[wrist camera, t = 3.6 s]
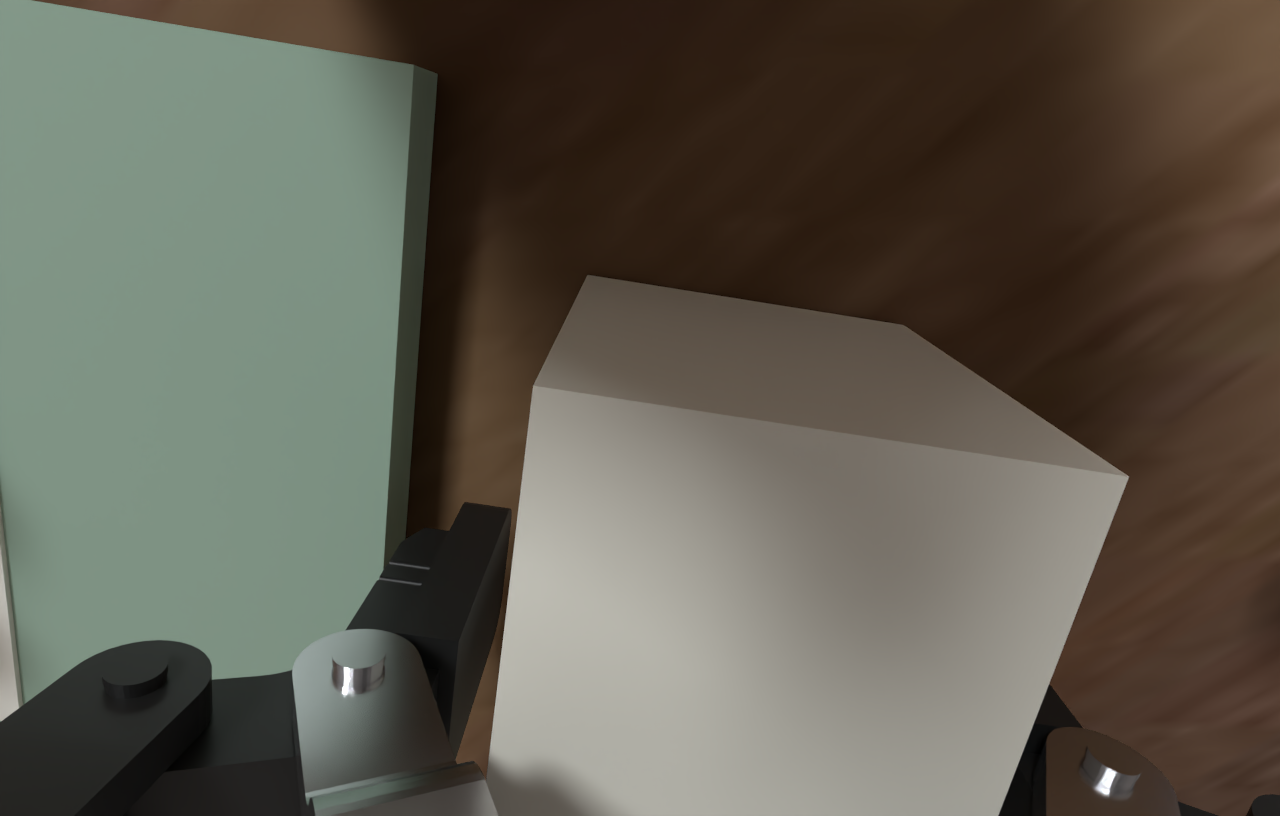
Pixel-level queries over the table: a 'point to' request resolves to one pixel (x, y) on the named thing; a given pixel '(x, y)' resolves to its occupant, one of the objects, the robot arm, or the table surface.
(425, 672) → the robot arm
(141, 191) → the board
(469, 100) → the table surface
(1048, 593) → the plug housing
